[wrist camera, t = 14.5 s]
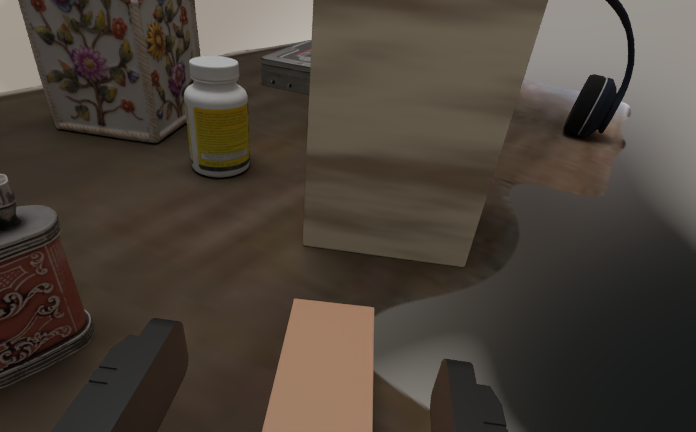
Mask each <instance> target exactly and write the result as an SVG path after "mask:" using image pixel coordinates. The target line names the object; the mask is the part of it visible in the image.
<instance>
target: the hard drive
mask: <svg viewBox="0 0 696 432" xmlns="http://www.w3.org/2000/svg"><path fill="white" fill-rule="evenodd" d="M311 47H312V40H308V41H304V42H301V43H298V44H296V45H293V46H290V47H287V48H284V49H282V50H279V51H276V52H273V53H270V54H267V55H265V56H262V58H261V60H262V85H264V86H268V87H273V88H278V89H283V90H288V91H292V92H297V93H302V94H307V95H309V92H310V70H311Z"/></svg>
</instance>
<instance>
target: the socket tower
mask: <svg viewBox="0 0 696 432" xmlns="http://www.w3.org/2000/svg"><path fill="white" fill-rule="evenodd" d="M547 2H548V0H314V2H313V24H312V47H311V70H310V92H309V115H308V138H307V161H306V184H305V206H304V229H303V245H304V246H312V247H319V248H326V249H334V250H341V251H349V252H356V253H363V254H371V255H378V256H385V257H393V258H400V259H407V260H415V261H422V262H429V263H437V264H444V265H451V266H459V267H465V264H466V261H467V258H468V255H469V251H470V248H471V245H472V242H473V239H474V235H475V232H476V229H477V226H478V223H479V219H480V216H481V213H482V210H483V207H484V203H485V200H486V197H487V194H488V191H489V188H490V184H491V181H492V178H493V175H494V172H495V168H496V165H497V162H498V159H499V156H500V152H501V149H502V146H503V143H504V140H505V136H506V133H507V130H508V127H509V124H510V120H511V117H512V114H513V111H514V108H515V104H516V101H517V98H518V95H519V92H520V89H521V85H522V82H523V79H524V76H525V73H526V69H527V66H528V62H529V59H530V56H531V53H532V50H533V47H534V44H535V40H536V37H537V34H538V31H539V28H540V24H541V21H542V18H543V15H544V12H545V9H546V5H547Z"/></svg>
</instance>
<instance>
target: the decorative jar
mask: <svg viewBox="0 0 696 432" xmlns="http://www.w3.org/2000/svg"><path fill="white" fill-rule="evenodd" d="M18 1H19V4H20V8H21V12H22V15H23V19H24V21H25V25H26V30H27V33H28V37H29V40H30V44H31V47H32V50H33V54H34V57H35V61H36V64H37V68H38V72H39V75H40V79H41V81H42V85H43V88H44V91H45V94H46V98H47V101H48V104H49V107H50V110H51V114H52V117H53V119H54V122H55V126H56V128H57V129H62V130H69V131H75V132H81V133H88V134H95V135H101V136H108V137H114V138H120V139H127V140H134V141H141V142H148V143H158V142H159V141H161V140H163V139H164V138H165V137H166V136H168V135H169V134H171V133H172V132H173V131H175V130H176V129H178V128H179V127H181V126H182V125H183V124H185V123H186V122H187V119H186V112H185V103H184V92H185V90H186V88H187V87H188V86H189V85H191V84H193V83H194V80H192V79H191V77H190V76H191V75H190V67H189V61H190V59H192V58H195V57H200V48H199V40H198V30H197V22H196V13H195V1H194V0H18Z"/></svg>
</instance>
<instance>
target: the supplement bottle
mask: <svg viewBox="0 0 696 432" xmlns="http://www.w3.org/2000/svg"><path fill="white" fill-rule="evenodd" d="M189 67H190V75H191V76H190V77H191V79H192V80H194V83H193V84H191V85H189V86H188V87H187V88H186V90H185V92H184V103H185V112H186V119H187V129H188V138H189V148H190V156H191V163H192V167H193V169H194V170H195V171H196V172H198V173H200V174H202V175H205V176H210V177H230V176H234V175H237V174H240V173H242V172H244V171H245V170H246V169H247V168H248V167H249V164H250V151H249V122H248V98H247V93H246V91H245V90H244V89H243V88H242V87H241V86H239V85H237V84H236V81H238V79H239V67H238V62H237V61H236V60H234V59H231V58H227V57H220V56H202V57H195V58H192V59H190V61H189Z"/></svg>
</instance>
